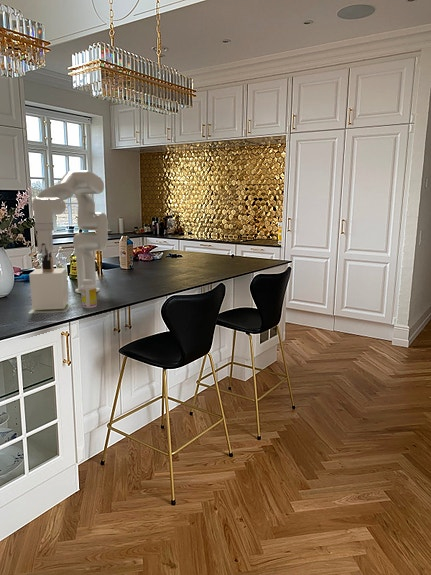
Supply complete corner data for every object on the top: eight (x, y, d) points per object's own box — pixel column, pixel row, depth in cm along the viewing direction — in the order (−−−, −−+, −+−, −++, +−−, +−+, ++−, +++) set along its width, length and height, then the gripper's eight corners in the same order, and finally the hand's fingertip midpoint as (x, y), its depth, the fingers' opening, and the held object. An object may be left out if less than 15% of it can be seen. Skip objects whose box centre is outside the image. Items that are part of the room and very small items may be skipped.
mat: (36, 305, 206) (36, 304, 206) (71, 304, 209) (71, 303, 209) (27, 314, 191) (27, 313, 191) (66, 312, 194) (66, 311, 193)
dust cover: (39, 302, 206) (34, 256, 201) (68, 301, 208) (65, 255, 203) (32, 310, 193) (27, 260, 188) (63, 308, 195) (60, 259, 190)
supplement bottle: (98, 305, 207) (97, 278, 204) (95, 308, 201) (93, 281, 198) (84, 305, 207) (82, 278, 204) (80, 308, 200) (78, 281, 198)
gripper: (39, 225, 200) (43, 265, 204) (30, 228, 184) (34, 271, 188) (56, 225, 201) (60, 265, 205) (49, 228, 185) (53, 271, 189)
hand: (48, 267), depth 197 cm, fingers closed on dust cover, 4 cm apart
